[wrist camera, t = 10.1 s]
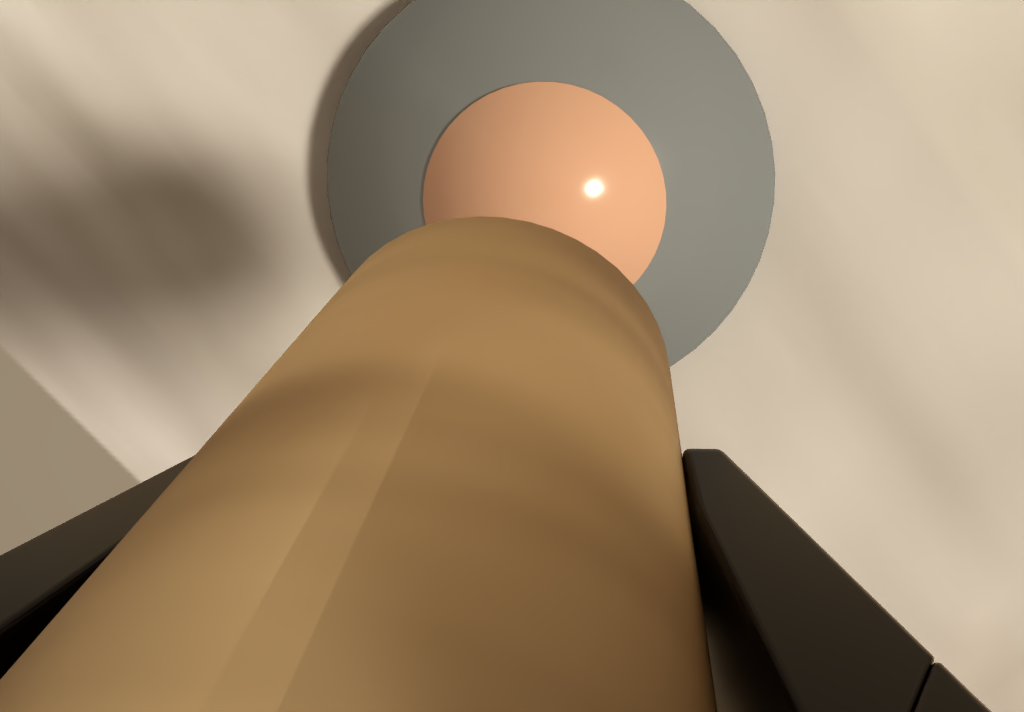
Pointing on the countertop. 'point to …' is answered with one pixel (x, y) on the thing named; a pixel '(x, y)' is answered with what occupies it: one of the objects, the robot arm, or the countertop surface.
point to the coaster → (565, 142)
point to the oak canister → (416, 511)
